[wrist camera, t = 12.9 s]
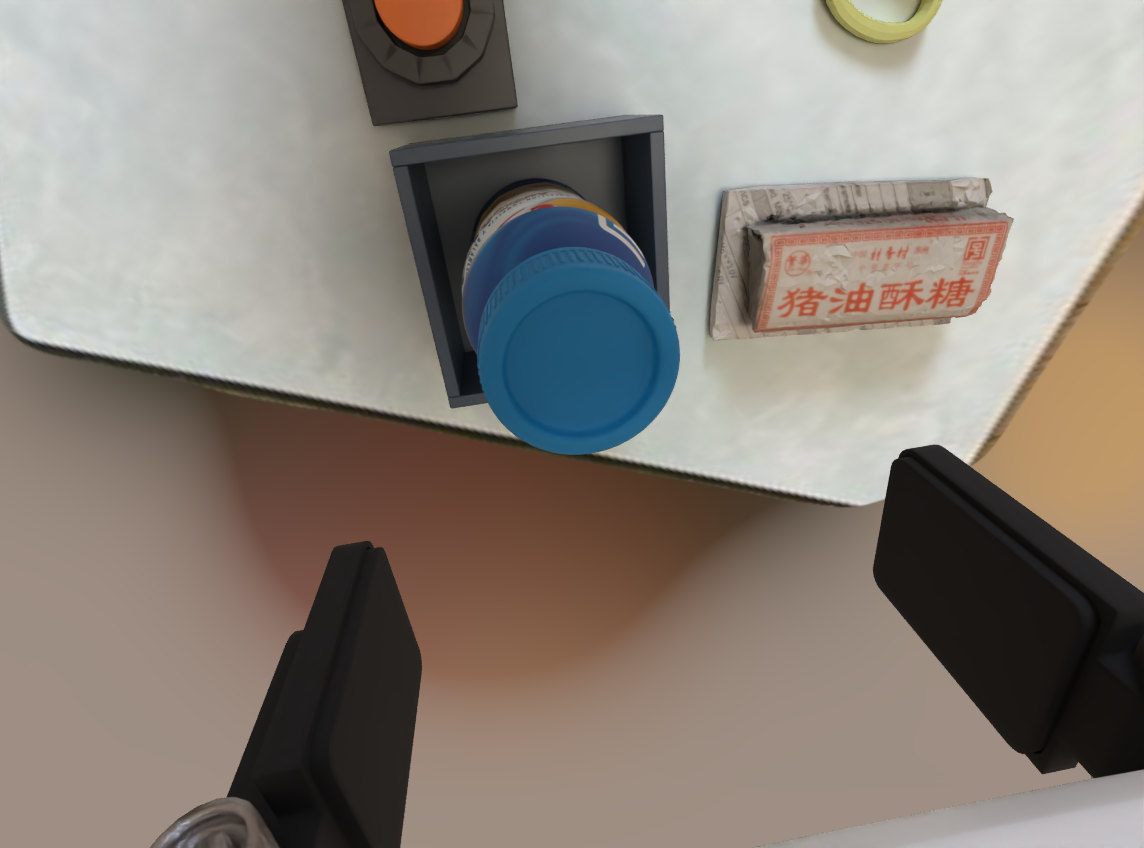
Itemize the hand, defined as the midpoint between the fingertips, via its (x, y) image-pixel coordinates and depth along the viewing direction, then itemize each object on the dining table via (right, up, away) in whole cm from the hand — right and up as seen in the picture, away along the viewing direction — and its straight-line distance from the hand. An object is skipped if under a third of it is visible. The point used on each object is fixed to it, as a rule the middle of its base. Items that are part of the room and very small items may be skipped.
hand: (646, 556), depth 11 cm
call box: (-9, +24, +20) cm, 33 cm away
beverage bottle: (-4, +14, +26) cm, 29 cm away
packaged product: (+17, +14, +30) cm, 37 cm away
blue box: (-4, +14, +26) cm, 30 cm away
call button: (-9, +23, +18) cm, 30 cm away
